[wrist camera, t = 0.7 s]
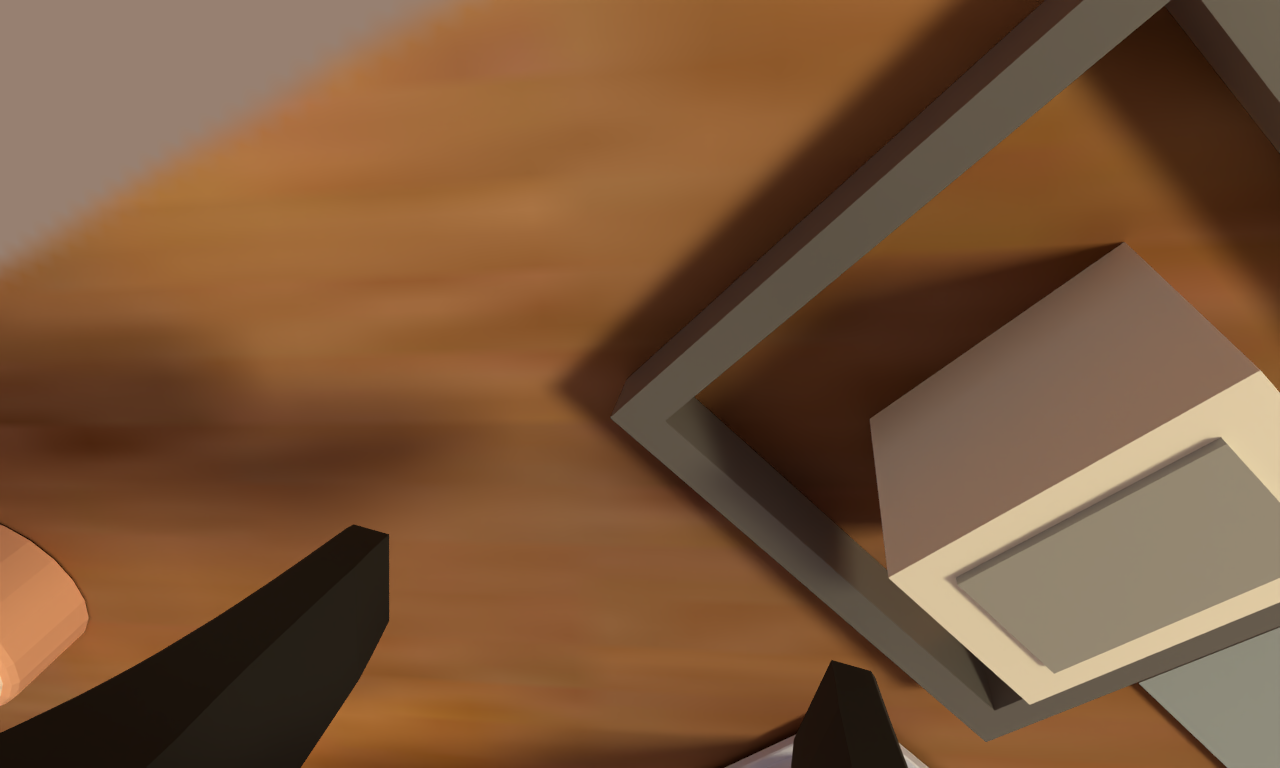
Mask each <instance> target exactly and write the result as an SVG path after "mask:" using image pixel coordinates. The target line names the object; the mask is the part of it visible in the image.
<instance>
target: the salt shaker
mask: <svg viewBox="0 0 1280 768" xmlns="http://www.w3.org/2000/svg"><path fill="white" fill-rule="evenodd" d="M88 619H89V617H88V613H87V608H86V604H85V600H84V598H83V597H82V595H81V593H80V592H79V590H78V588H77V586H76V585H75V583H74V581H73V580H72V579H71V578H70V576H69V575H68V574H67V573H66V572H65V571H64V570H63V569H62V568H61V567H60V565H59V564H58V563H57V562H56V561H55V560H54V559H53V558H52V557H50V556H49V555H48V554H46V553H45V552H44V551H43V550H41V549H40V548H39V547H38V546H36V545H35V544H34V543H32V542H31V541H30V540H28V539H26V538H24V537H23V536H21V535H19V534H17V533H16V532H14V531H12V530H10V529H8V528H7V527H5V526H3V525H0V706H1V705H4V704H6V703H7V702H9V701H10V700H11V699H13V698H14V697H15V696H17V695H18V694H19V693H20V692H21V691H22V690H23V689H24V688H25V687H26V686H27V685H29V684H30V683H31V682H32V681H33V680H34V679H35V678H36V677H37V676H38V675H39V674H40V673H41V672H42V671H43V670H45V669H46V668H47V667H48V666H49V665H50V664H51V663H52V662H53V661H54V660H55V659H56V658H57V657H58V656H59V655H60V654H62V653H63V652H64V651H65V650H66V649H67V648H68V647H69V646H70V645H71V644H72V643H73V642H74V641H75V640H76V639H78V638H79V637H80V636H81V635H82V634H83V633H84V632H85V629H86V626H87V622H88Z"/></svg>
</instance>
